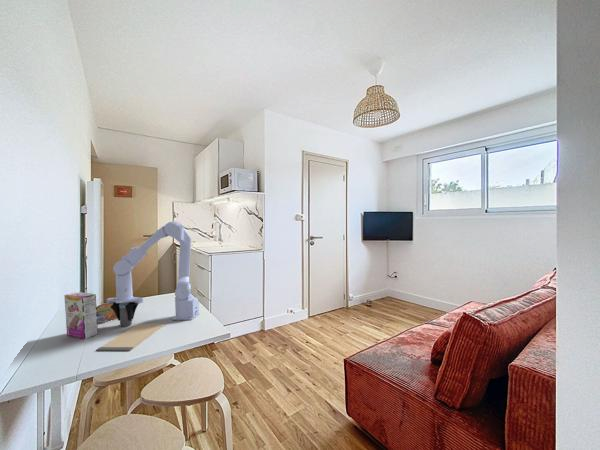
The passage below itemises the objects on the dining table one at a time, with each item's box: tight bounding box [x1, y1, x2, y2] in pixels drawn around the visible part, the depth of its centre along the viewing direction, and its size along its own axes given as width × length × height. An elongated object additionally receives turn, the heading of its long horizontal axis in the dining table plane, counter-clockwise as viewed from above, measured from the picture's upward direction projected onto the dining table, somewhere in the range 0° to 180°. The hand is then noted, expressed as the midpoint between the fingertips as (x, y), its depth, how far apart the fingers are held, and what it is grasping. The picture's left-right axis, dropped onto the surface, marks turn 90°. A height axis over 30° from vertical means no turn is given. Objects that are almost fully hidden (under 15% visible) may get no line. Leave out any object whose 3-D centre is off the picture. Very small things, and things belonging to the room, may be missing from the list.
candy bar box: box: [63, 291, 99, 340], centre depth 98 cm, size 11×5×16 cm, turn 71°
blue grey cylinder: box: [119, 303, 133, 328], centre depth 107 cm, size 4×4×10 cm
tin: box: [96, 302, 118, 324], centre depth 115 cm, size 15×3×8 cm, turn 148°
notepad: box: [96, 323, 166, 352], centre depth 97 cm, size 12×21×1 cm, turn 177°
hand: (125, 319), depth 107 cm, fingers closed on blue grey cylinder, 4 cm apart
